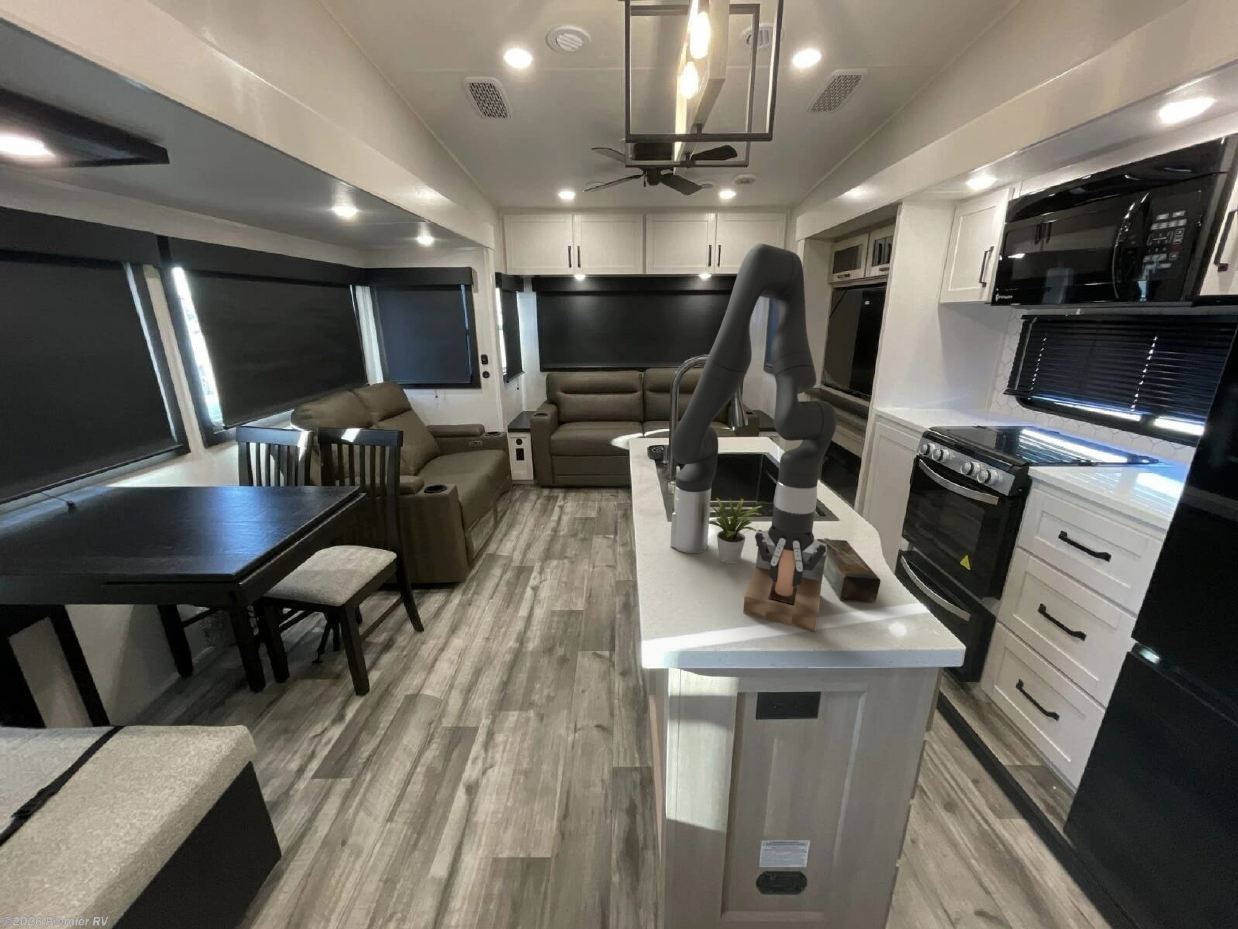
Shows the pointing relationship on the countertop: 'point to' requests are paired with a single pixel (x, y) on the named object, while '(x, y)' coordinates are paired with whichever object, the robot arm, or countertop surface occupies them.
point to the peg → (785, 573)
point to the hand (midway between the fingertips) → (784, 582)
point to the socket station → (802, 597)
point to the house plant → (732, 531)
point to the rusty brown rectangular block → (849, 573)
